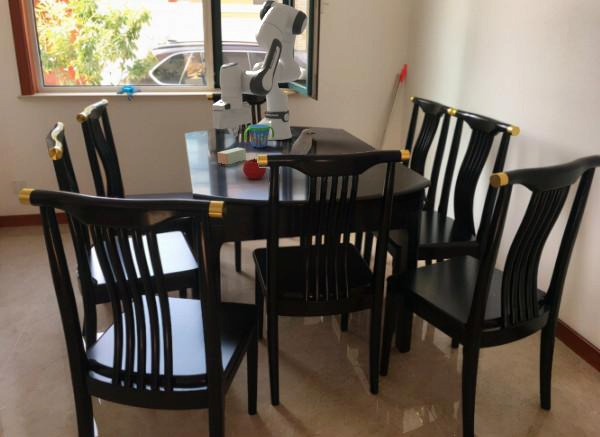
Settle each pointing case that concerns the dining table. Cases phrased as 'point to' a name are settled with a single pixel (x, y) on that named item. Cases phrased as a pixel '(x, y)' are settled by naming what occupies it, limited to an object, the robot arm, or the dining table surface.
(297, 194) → the dining table surface
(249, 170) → the tomato
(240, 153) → the tall block
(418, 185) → the dining table surface
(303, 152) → the bird
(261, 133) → the snack cup
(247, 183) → the dining table surface
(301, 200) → the dining table surface
